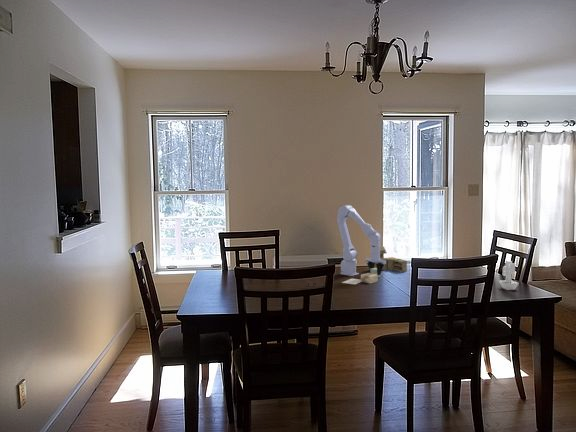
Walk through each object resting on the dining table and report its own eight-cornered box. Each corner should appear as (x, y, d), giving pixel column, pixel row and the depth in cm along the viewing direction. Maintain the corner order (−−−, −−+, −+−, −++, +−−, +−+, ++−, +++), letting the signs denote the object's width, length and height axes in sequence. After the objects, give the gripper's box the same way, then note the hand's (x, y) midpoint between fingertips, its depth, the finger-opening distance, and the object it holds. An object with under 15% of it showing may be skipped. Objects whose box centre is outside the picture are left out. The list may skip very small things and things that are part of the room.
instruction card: (341, 282, 265) (341, 282, 265) (351, 278, 274) (351, 278, 274) (355, 284, 259) (355, 284, 259) (365, 280, 269) (365, 279, 269)
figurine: (510, 286, 244) (510, 258, 243) (520, 290, 235) (520, 262, 233) (497, 286, 244) (497, 259, 243) (506, 291, 234) (506, 262, 233)
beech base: (360, 281, 266) (360, 274, 265) (368, 279, 271) (368, 272, 270) (370, 283, 261) (370, 276, 260) (377, 281, 265) (377, 274, 265)
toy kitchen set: (382, 275, 283) (382, 251, 281) (368, 270, 298) (368, 247, 297) (407, 271, 289) (407, 248, 288) (392, 267, 305) (391, 245, 304)
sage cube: (370, 276, 278) (370, 268, 278) (375, 275, 281) (374, 267, 281) (376, 277, 275) (376, 269, 274) (380, 276, 278) (380, 268, 277)
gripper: (361, 252, 279) (362, 273, 281) (381, 254, 269) (381, 277, 270) (368, 250, 284) (369, 271, 285) (388, 253, 273) (388, 275, 275)
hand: (375, 274), depth 278 cm, fingers closed on sage cube, 4 cm apart
